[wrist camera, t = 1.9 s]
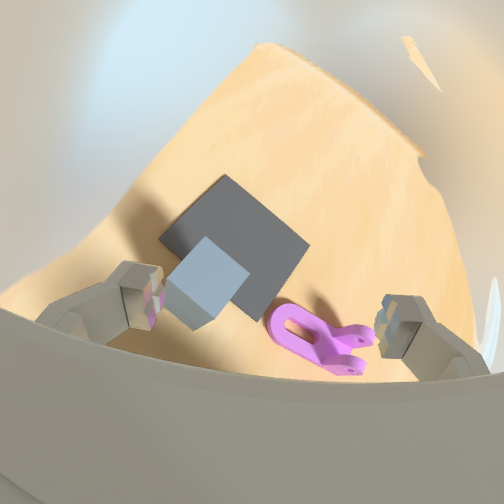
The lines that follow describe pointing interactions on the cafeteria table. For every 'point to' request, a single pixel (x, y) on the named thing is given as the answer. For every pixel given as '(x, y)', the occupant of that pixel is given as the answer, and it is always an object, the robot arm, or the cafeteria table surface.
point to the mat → (241, 241)
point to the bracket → (321, 340)
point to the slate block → (202, 285)
